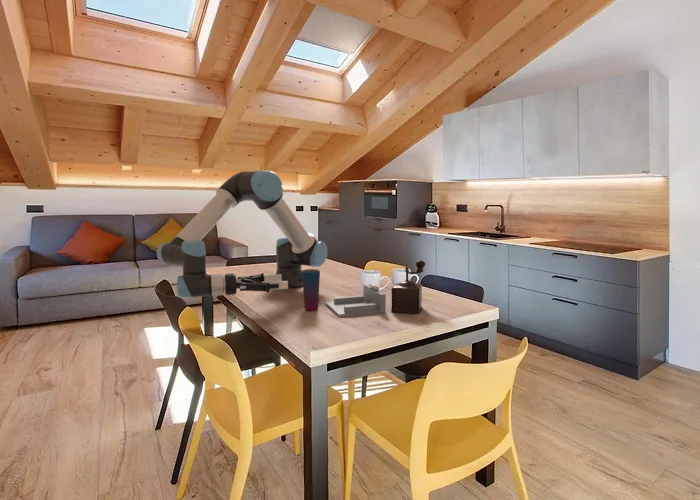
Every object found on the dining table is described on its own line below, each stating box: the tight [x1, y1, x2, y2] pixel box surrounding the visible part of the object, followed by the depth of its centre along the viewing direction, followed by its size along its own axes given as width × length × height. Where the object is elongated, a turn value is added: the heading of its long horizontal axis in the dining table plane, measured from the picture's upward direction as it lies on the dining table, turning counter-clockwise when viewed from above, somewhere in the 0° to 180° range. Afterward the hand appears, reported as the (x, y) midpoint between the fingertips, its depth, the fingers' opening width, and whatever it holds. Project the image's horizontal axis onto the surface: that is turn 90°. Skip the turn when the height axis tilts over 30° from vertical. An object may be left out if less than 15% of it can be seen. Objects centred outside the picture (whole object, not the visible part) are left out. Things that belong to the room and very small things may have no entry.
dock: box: [325, 283, 387, 318], centre depth 160 cm, size 18×18×9 cm
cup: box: [302, 268, 321, 312], centre depth 158 cm, size 7×7×15 cm
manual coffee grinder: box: [391, 259, 426, 315], centre depth 160 cm, size 16×11×18 cm
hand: (284, 281), depth 155 cm, fingers open, 13 cm apart
